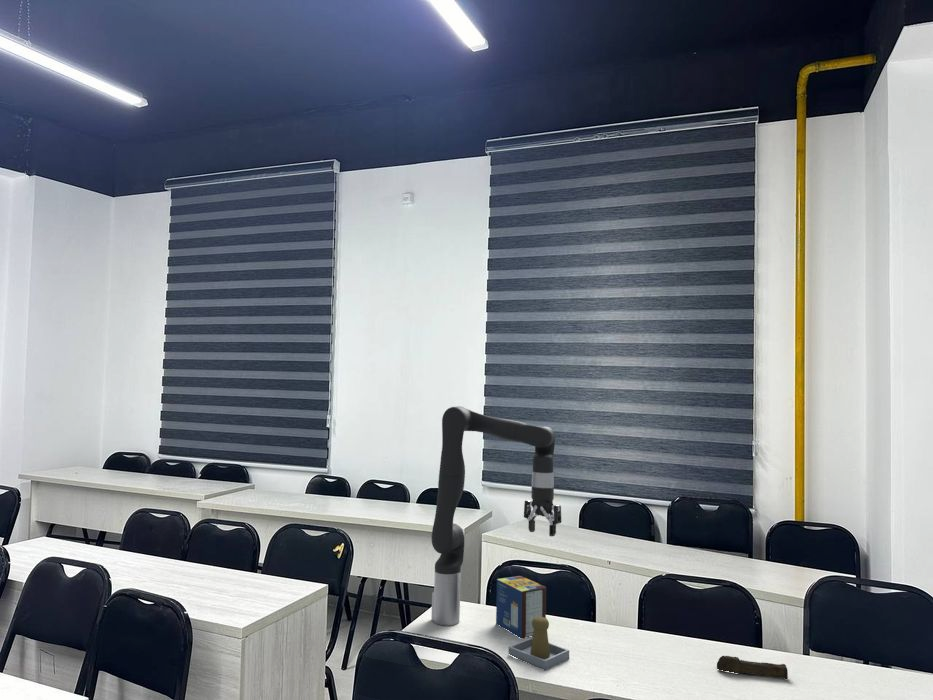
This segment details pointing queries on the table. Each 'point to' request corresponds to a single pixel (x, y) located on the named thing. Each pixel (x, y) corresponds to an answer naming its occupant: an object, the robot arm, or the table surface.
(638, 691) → the table surface
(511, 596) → the protein box
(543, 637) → the cork
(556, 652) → the tray
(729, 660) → the hand tool
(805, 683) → the table surface
